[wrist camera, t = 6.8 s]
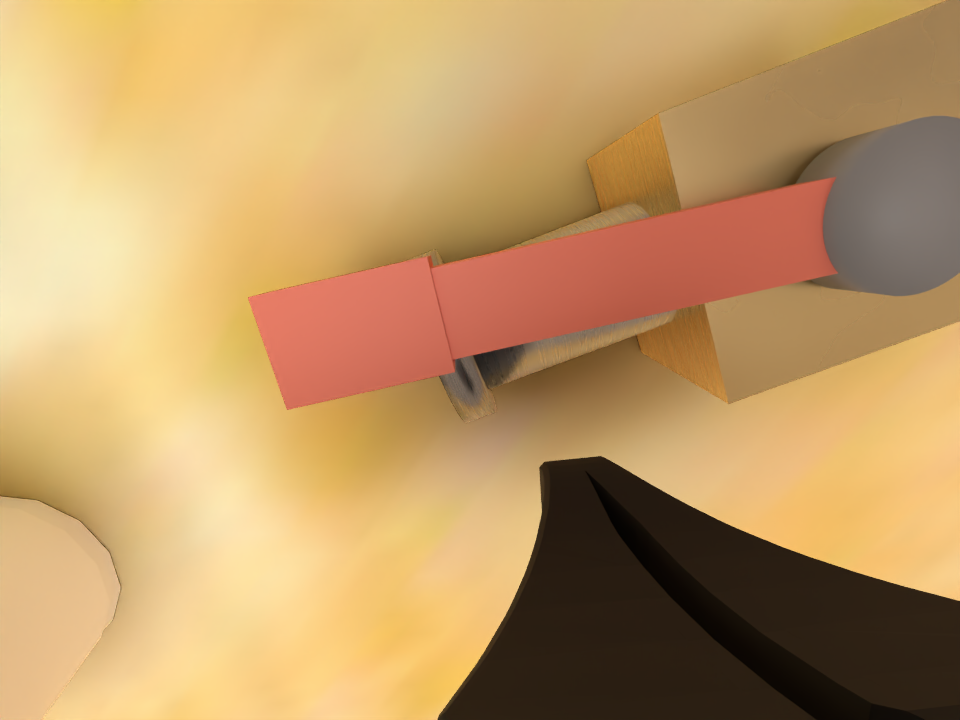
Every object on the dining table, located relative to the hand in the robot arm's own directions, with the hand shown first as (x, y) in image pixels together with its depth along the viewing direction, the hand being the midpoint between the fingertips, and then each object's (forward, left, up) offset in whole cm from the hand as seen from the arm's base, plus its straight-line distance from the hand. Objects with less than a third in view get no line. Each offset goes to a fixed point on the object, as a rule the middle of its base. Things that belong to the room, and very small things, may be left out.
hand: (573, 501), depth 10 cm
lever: (-2, -4, 0) cm, 5 cm away
